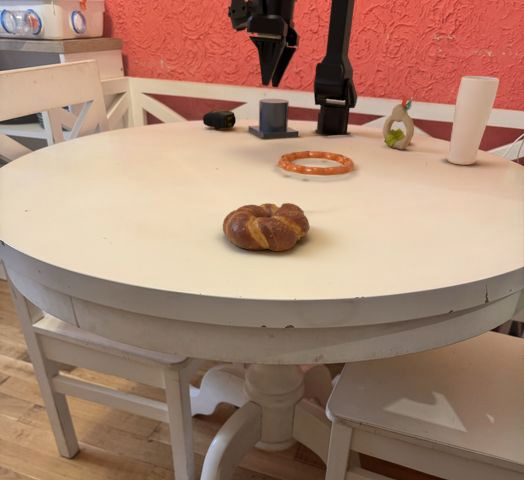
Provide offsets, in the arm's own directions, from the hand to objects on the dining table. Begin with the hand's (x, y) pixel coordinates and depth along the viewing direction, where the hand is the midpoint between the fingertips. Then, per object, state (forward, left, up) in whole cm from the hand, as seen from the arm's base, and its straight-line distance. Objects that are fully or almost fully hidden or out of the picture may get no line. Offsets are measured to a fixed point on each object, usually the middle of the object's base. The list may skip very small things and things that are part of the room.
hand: (270, 86), depth 93 cm
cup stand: (-10, -20, -13) cm, 26 cm away
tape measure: (0, -29, -13) cm, 32 cm away
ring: (-4, +12, -12) cm, 17 cm away
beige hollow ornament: (-32, +1, -13) cm, 35 cm away
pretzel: (+18, +39, -13) cm, 45 cm away
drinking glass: (-35, +16, -13) cm, 41 cm away
